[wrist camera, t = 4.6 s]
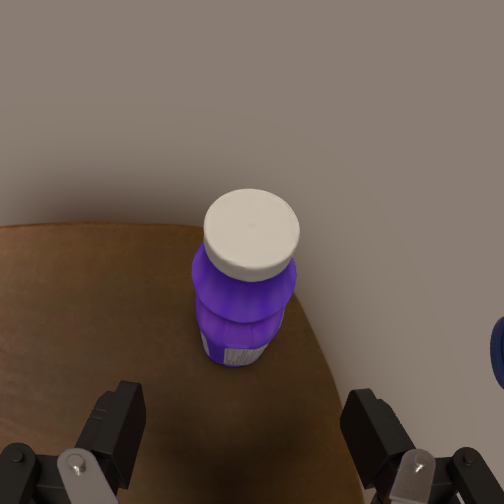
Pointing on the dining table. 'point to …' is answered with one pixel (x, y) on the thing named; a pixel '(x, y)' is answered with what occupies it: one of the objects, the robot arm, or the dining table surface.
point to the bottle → (244, 274)
